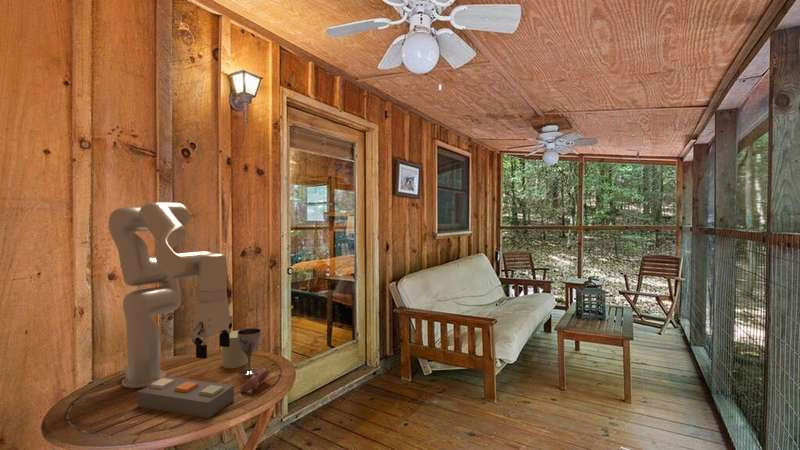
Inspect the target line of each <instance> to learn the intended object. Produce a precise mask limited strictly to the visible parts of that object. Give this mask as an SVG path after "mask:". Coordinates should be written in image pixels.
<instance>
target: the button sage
mask: <svg viewBox="0 0 800 450" xmlns="http://www.w3.org/2000/svg"><path fill="white" fill-rule="evenodd" d="M222 391H223V387H222V386H215V385H210V386H208V387H206V388H205V389H203V390H201V391H200V395H201V396H208V397H214V396H215V395H217V394H219V393H220V392H222Z"/></svg>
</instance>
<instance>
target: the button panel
mask: <svg viewBox="0 0 800 450" xmlns="http://www.w3.org/2000/svg"><path fill="white" fill-rule="evenodd" d="M165 378H166V379H173V380H174V384H172V385H170V386H168V387H166V388H165V389H163V390H162V389H155V388H151V385H150V386H146V387H143V388H141V389H140V390H138V391H137V407H139V408H144V409H145V408H147V409H150V410H151V409H152V410H156V411H157V410H158V411H162V412H170V413H176V414H181V415H188V416H192V417H193V416H194V417H198V418H199V417H200V418H203V419H204V418H205V419H209V418H211V417H212V416H214V415H215V414H216V413H218V412H219V411H220V410H222V409H223V408H225V407H226V406H228V405H229V404H230V403H232V402H233V401H235V386H234V385H231V384H226V383H225V384H224V383H218V382H210V381H203V380H196V379H187V378H183V377H176V376H166V377H165ZM186 381H187V382H194V383H198V387H197V388H195V389H194V390H192V391H190V392H189V393H181V392H175V387H177V386H179V385H181V384H183V383H184V382H186ZM210 385H215V386H222V387H223V391H222V392H220V393H219V394H217V395H215V396H214V397H208V396H201V395H200V391H201V390H203V389H205V388H206V387H208V386H210Z"/></svg>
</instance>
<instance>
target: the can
mask: <svg viewBox="0 0 800 450" xmlns="http://www.w3.org/2000/svg"><path fill="white" fill-rule="evenodd" d="M238 331H239V330H231V333H230V346H229V347H221V358H222V359H221V367H222V368H225V369H237V368H242V367H244V366H246V365H248V358H247V355H246V354H245V353H244V352H243V351H242V350H241V349H240V347H239V344H238V337H237V333H238Z"/></svg>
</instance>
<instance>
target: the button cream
mask: <svg viewBox="0 0 800 450" xmlns="http://www.w3.org/2000/svg"><path fill="white" fill-rule="evenodd" d="M172 384H174V380H173V379H166V377H165V378H162V379H160V380H158V381H156V382H154V383H152V384H151V388H155V389H162V390H163V389H165V388H166V387H168V386H170V385H172Z"/></svg>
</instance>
